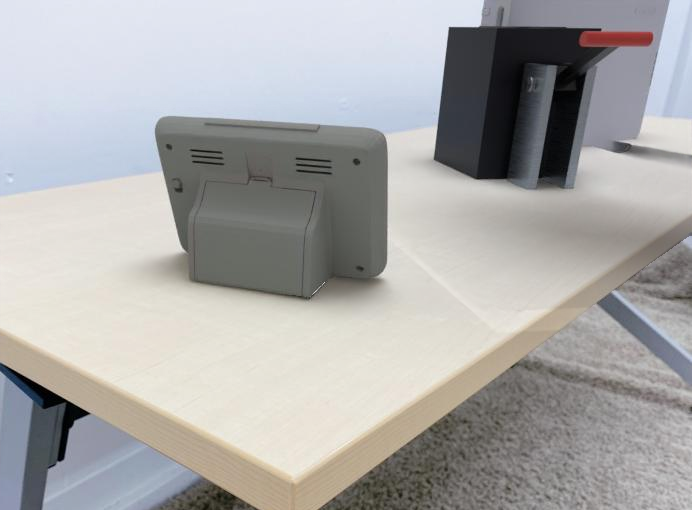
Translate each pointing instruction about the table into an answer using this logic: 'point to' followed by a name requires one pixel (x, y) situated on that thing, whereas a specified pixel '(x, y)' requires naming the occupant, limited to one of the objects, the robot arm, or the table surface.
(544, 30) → the toaster
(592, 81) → the lever bracket
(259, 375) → the table surface
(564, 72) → the toaster lever
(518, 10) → the game console
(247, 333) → the table surface
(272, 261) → the digital clock
